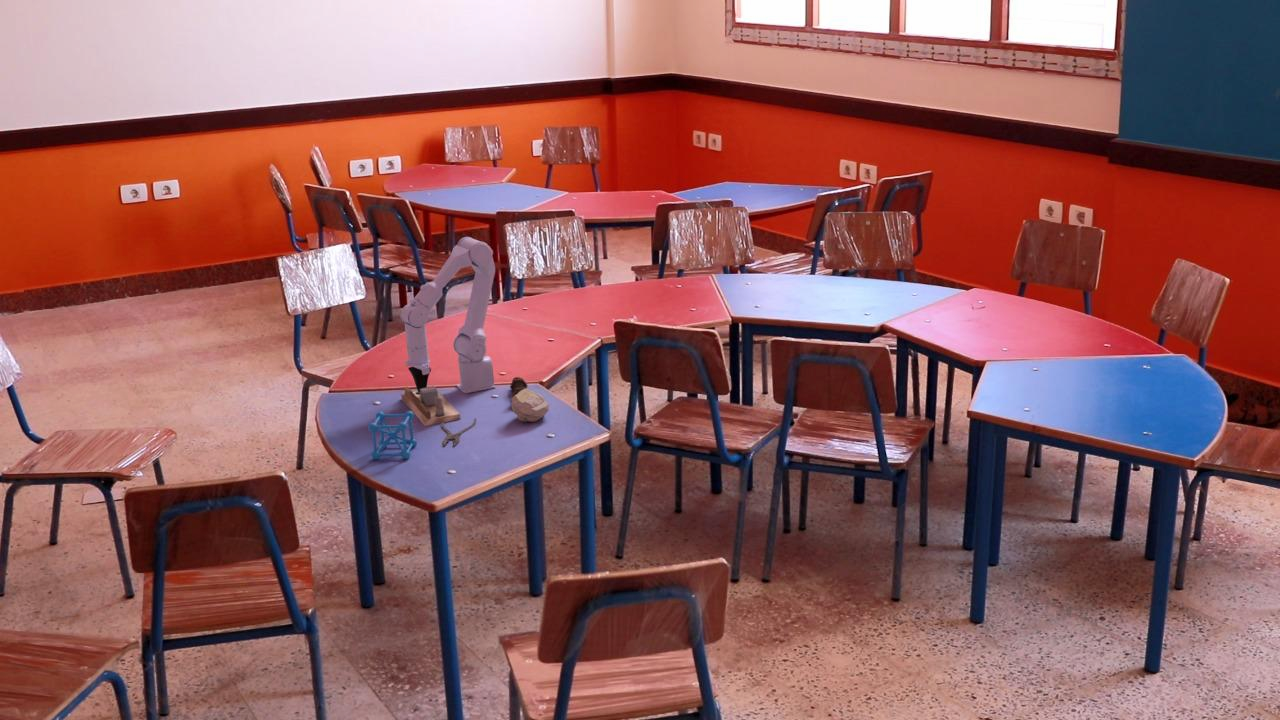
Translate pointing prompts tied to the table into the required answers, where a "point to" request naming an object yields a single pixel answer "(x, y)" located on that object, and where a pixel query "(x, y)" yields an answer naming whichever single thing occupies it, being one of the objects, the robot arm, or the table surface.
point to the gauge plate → (430, 408)
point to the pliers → (454, 436)
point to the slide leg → (428, 395)
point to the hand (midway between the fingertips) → (422, 391)
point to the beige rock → (529, 405)
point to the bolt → (517, 385)
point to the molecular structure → (392, 435)
